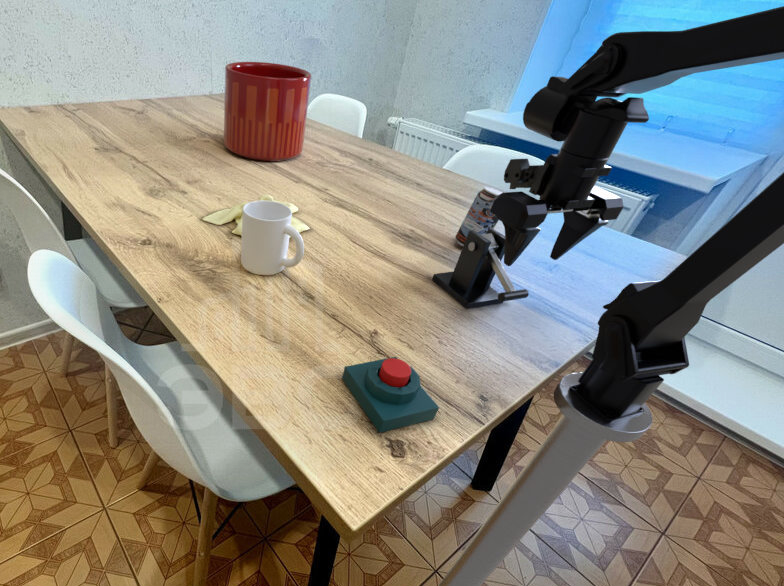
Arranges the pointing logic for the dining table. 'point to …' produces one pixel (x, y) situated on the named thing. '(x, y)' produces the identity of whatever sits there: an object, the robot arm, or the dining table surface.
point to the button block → (389, 397)
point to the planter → (265, 110)
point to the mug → (268, 238)
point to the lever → (502, 274)
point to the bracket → (473, 272)
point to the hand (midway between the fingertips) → (530, 261)
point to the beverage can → (479, 215)
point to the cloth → (237, 214)
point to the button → (395, 372)
